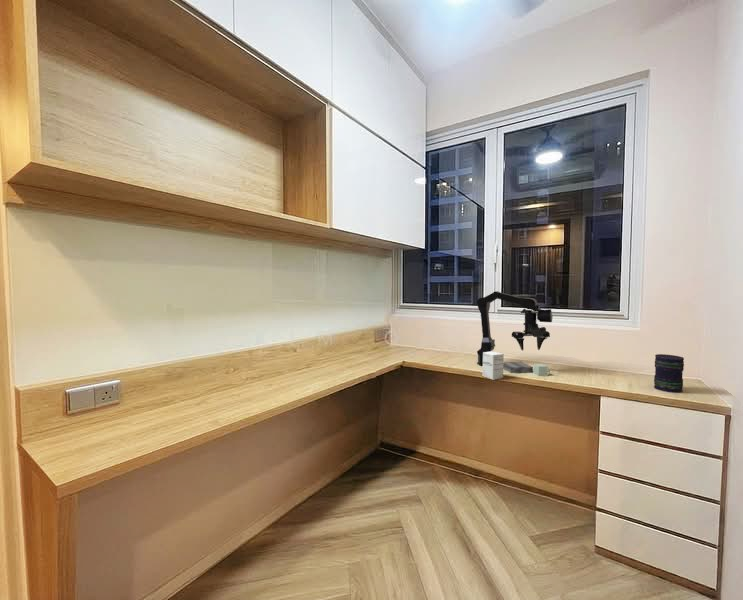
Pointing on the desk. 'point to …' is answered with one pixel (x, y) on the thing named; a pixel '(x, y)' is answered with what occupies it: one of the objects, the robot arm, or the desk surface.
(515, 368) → the charcoal base
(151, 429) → the desk surface
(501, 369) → the supplement box
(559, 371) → the desk surface
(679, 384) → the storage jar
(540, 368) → the sage cube
